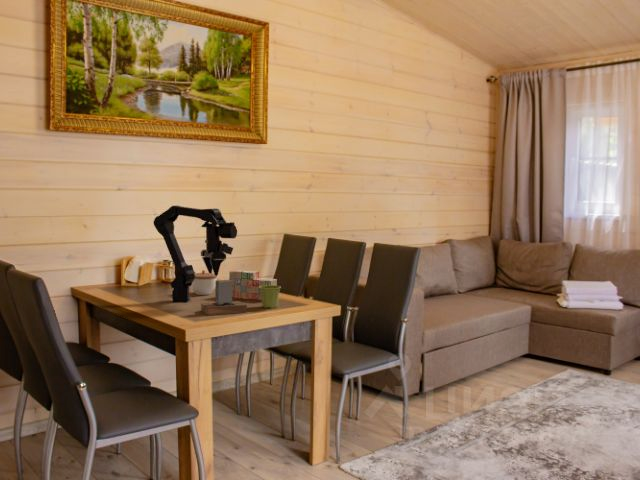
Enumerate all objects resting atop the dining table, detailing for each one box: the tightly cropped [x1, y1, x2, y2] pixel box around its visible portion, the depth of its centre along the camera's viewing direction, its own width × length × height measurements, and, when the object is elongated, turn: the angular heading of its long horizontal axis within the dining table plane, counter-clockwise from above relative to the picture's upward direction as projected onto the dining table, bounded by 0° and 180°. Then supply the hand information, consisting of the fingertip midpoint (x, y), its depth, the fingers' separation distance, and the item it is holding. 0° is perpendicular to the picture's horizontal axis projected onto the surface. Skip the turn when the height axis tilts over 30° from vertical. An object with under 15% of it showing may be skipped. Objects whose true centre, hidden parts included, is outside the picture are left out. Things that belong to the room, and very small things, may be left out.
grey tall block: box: [214, 279, 233, 306], centre depth 260 cm, size 4×6×12 cm
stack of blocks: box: [228, 269, 278, 301], centre depth 292 cm, size 21×6×12 cm, turn 68°
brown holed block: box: [200, 300, 248, 316], centre depth 260 cm, size 10×16×3 cm, turn 117°
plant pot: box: [259, 285, 282, 309], centre depth 272 cm, size 9×9×9 cm
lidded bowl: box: [190, 269, 218, 296], centre depth 301 cm, size 13×13×11 cm
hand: (213, 274), depth 275 cm, fingers open, 9 cm apart
